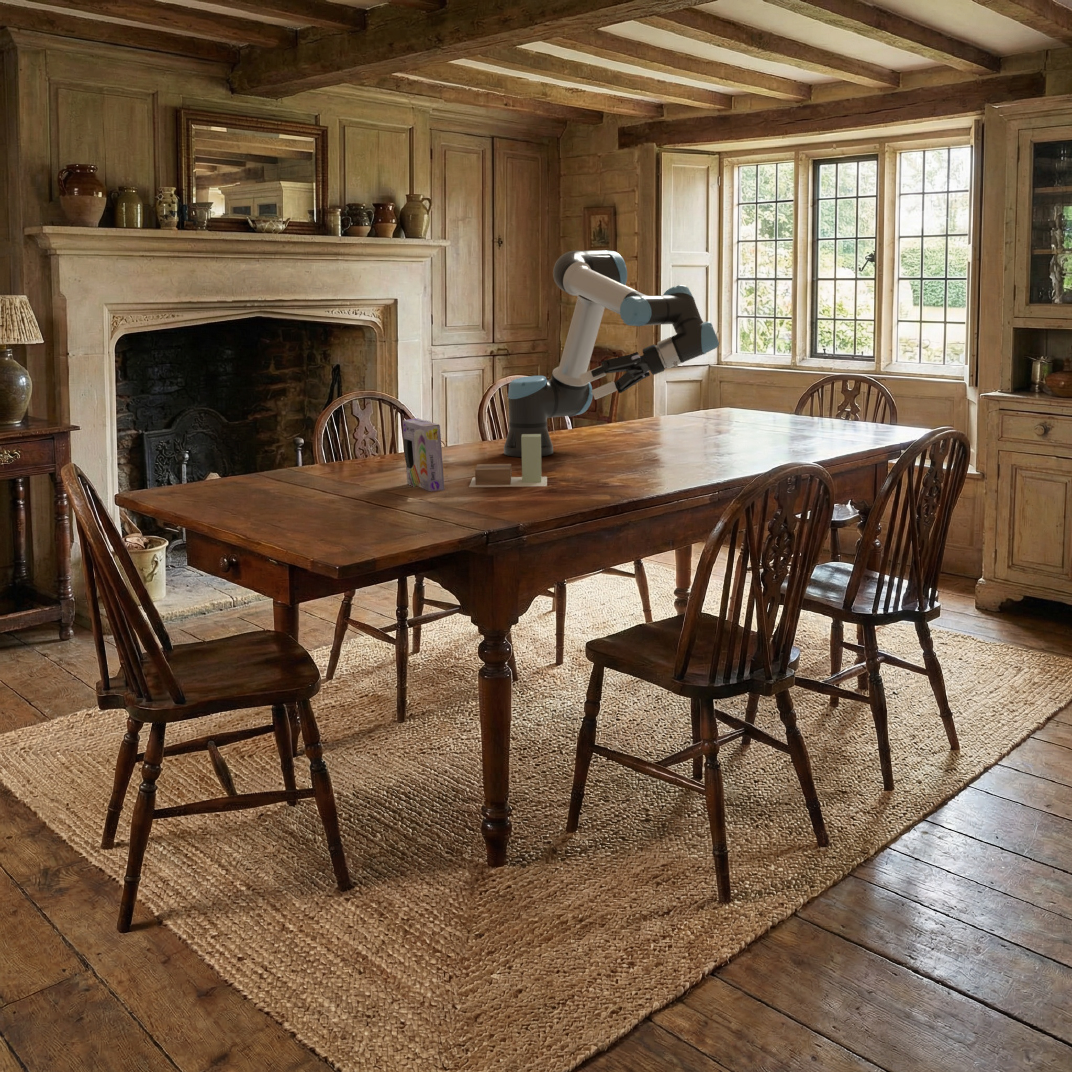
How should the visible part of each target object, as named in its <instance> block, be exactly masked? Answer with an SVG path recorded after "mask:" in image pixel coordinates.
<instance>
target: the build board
mask: <svg viewBox="0 0 1072 1072" xmlns="http://www.w3.org/2000/svg"><path fill="white" fill-rule="evenodd" d="M468 487H469V488H498V487H500V488H502V487H504V488H506V487H508V488H510V487H512V488H513V487H514V488H515V487H521V488H522V487H548V476H541V482H525V483H522V476H511V484H510V485H475V476H474V477H472V479H471V481H470V484H469V486H468Z"/></svg>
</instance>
